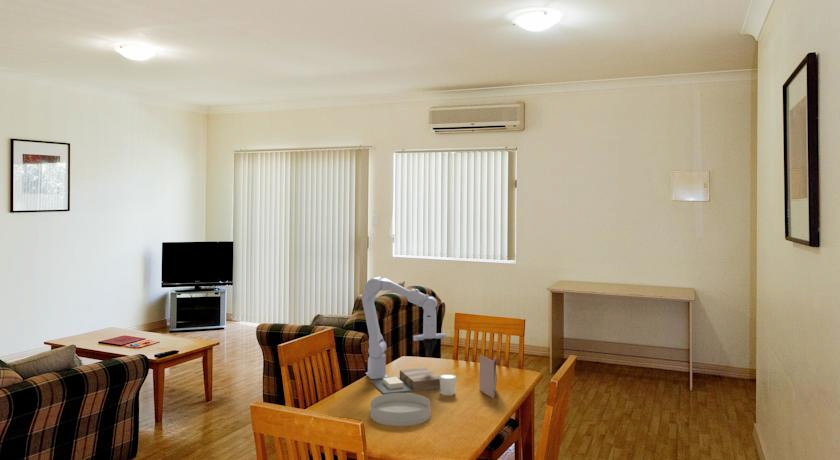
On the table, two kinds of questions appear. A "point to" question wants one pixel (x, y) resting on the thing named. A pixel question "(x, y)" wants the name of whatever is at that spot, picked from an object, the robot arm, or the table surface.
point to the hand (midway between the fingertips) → (429, 355)
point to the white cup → (447, 384)
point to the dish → (400, 409)
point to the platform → (420, 379)
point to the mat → (386, 390)
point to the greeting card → (488, 376)
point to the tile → (393, 382)
